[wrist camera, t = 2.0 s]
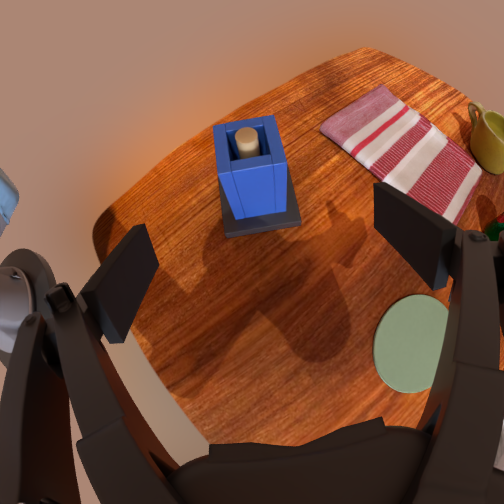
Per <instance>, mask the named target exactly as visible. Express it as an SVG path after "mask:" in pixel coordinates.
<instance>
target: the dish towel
mask: <svg viewBox="0 0 504 504" xmlns="http://www.w3.org/2000/svg"><path fill="white" fill-rule="evenodd" d="M320 131H321V132H322V133H323V134H324V135H326V136H327V137H329V138H330V139H332V140H333V141H334V142H336V143H337V144H338V145H339V146H341V147H342V148H343V149H344V150H346V151H347V152H348V153H349V154H350V155H351V156H352V157H354V158H355V159H356V160H357V161H359V162H360V163H361V164H362V165H363V166H365V167H366V168H367V169H368V170H369V171H371V172H372V173H373V174H374V175H375V176H376V177H378V178H379V179H380V180H381V181H382V182H386V183H388V184H390V185H391V186H393V187H395V188H396V189H398V190H400V191H401V192H403V193H405V194H406V195H408V196H410V197H411V198H413V199H415V200H416V201H418V202H419V203H421V204H423V205H424V206H426V207H427V208H429V209H430V210H432V211H433V212H435V213H438V214H440V215H442V216H443V217H444V218H446V219H447V220H449V221H450V222H451V223H453V224H455V225H457V223H458V221H459V220H460V218H461V216H462V214H463V212H464V210H465V208H466V206H467V205H468V203H469V201H470V199H471V197H472V195H473V193H474V191H475V189H476V187H477V186H478V184H479V182H480V179H481V177H482V170H481V168H480V167H479V166H478V165H477V164H476V163H475V162H474V161H473V159H472V158H471V157H470V155H469V154H468V153H467V152H466V151H464V150H463V149H462V148H461V147H460V146H459V145H458V144H456V143H455V142H454V141H453V140H451V139H450V138H449V137H447V136H446V135H444V134H443V133H442V132H441V131H440V130H439V129H438V128H437V127H436V126H435V125H433V124H432V123H431V122H430V121H429V120H428V119H427V118H426V117H424V116H423V115H422V114H420V113H419V112H417V111H415V110H414V109H412V108H410V107H409V106H407V105H406V104H405V103H403V102H402V101H401V100H400V99H398V98H397V97H396V96H394V95H393V94H392V93H391V92H390V91H389V90H388V89H387V88H386V87H385V86H384V85H383V84H380V85H378V86H377V87H375V88H374V89H372V90H371V91H369V92H368V93H366V94H365V95H363V96H362V97H361V98H359V99H358V100H357V101H355V102H353V103H352V104H350V105H349V106H347V107H346V108H344V109H342V110H340V111H339V112H337V113H336V114H334V115H333V116H331V117H329V118H328V119H327V120H326V121H324V122H323V123H322V124H321V126H320Z"/></svg>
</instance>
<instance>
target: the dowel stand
mask: <svg viewBox="0 0 504 504" xmlns="http://www.w3.org/2000/svg"><path fill="white" fill-rule="evenodd" d="M235 140H236V144H237V148H238V152H239V156H240V159H246V158H251V157H257V156H260V148H259V141H258V134H257V131H256V130H255V129H253V128H250V127H244V128H241V129H239V130H238V131H237V132H236V134H235ZM218 182H219V191H220V199H221V208H222V217H223V225H224V233H225V236H226V237H227V238H232V237H237V236H243V235H249V234H254V233H260V232H266V231H272V230H277V229H283V228H289V227H295V226H300V225H301V217H300V213H299V208H298V204H297V200H296V196H295V192H294V188H293V184H292V180H291V176H290V172H289V168H288V164H287V197H286V211H284V212H278V213H271V214H266V215H260V216H254V217H248V218H246V217H245V218H243V219H238V220H236V219H235V217H234V214H233V212H232V209H231V207H230V204H229V202H228V199H227V197H226V194H225V192H224V189H223V187H222V184H221V181H220V179H219V176H218Z"/></svg>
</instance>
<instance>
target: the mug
mask: <svg viewBox="0 0 504 504" xmlns="http://www.w3.org/2000/svg"><path fill="white" fill-rule="evenodd" d="M468 111H469V116H470V119H471V123H472V131H471V139H470V148H471V151H472V153H473V155H474V156H475V158H476V160H477V162H478V163H479V164H480V166H481V167H483V168H484V169H485V170H486V171H488V172H490V173H493V174H496V175H498V174H501V173H503V172H504V117H503V116H502V115H501V114H499V113H497V112H495V111H492V110H491V111H490V110H487V111H485V109H484V108H483V106H482V105H481V104H480V103H478V102H470V103H469V104H468ZM475 111H478V113H479V117H478V122H477V117H476V113H475Z"/></svg>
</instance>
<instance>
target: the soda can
mask: <svg viewBox="0 0 504 504" xmlns="http://www.w3.org/2000/svg"><path fill="white" fill-rule="evenodd" d="M503 230H504V212H503V213H502V214H500V215H499V216H498V217H496V218H495V219H493V220H492V221H490V222H489V223H488V224H487V225H486V227H485V231H484V234H485V235H487V236H488V238H489V239H490V241H499V236H500V232H501V231H503Z"/></svg>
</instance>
